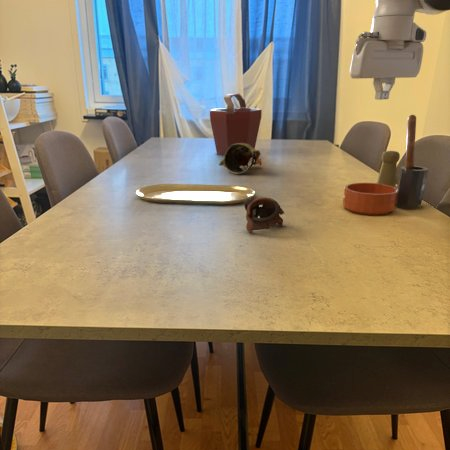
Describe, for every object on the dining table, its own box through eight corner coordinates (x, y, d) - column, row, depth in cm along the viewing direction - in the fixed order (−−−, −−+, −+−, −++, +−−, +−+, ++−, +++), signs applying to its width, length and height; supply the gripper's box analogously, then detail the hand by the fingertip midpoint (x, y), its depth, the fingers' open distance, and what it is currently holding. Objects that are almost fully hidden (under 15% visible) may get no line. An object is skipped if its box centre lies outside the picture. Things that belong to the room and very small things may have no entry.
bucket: (240, 159, 184) (240, 94, 172) (198, 155, 195) (196, 94, 183) (267, 151, 202) (269, 92, 191) (227, 148, 213) (227, 92, 201)
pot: (275, 143, 162) (255, 132, 146) (279, 173, 163) (259, 165, 147) (234, 156, 171) (212, 146, 155) (238, 184, 171) (216, 177, 155)
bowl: (385, 202, 121) (388, 182, 118) (402, 216, 109) (406, 194, 106) (337, 202, 121) (339, 182, 118) (349, 216, 109) (352, 194, 106)
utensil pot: (414, 202, 121) (421, 165, 116) (424, 209, 115) (433, 170, 110) (390, 202, 121) (396, 165, 116) (399, 209, 115) (406, 170, 110)
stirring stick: (410, 200, 118) (414, 114, 109) (413, 202, 116) (417, 114, 107) (402, 201, 118) (406, 115, 109) (405, 203, 116) (409, 115, 107)
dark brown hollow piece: (294, 230, 101) (292, 204, 94) (265, 254, 99) (261, 230, 92) (259, 207, 107) (254, 181, 100) (231, 229, 105) (224, 205, 98)
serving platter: (147, 188, 138) (147, 183, 137) (256, 191, 133) (257, 185, 133) (127, 203, 121) (127, 197, 121) (251, 207, 117) (251, 201, 116)
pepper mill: (377, 189, 135) (382, 152, 130) (374, 184, 140) (379, 149, 135) (397, 189, 134) (403, 152, 129) (393, 185, 139) (400, 149, 134)
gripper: (368, 29, 92) (360, 101, 98) (431, 33, 101) (420, 98, 107) (347, 32, 96) (340, 100, 103) (409, 35, 105) (399, 97, 112)
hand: (381, 99), depth 105 cm, fingers closed
